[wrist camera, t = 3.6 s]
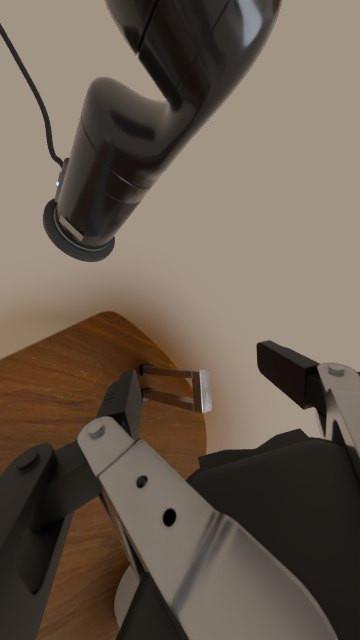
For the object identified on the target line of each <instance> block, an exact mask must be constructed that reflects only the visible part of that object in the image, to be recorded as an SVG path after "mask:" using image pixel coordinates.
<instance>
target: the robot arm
mask: <svg viewBox="0 0 360 640" xmlns="http://www.w3.org/2000/svg"><path fill="white" fill-rule="evenodd" d="M105 3H106V6H107V9H108V11H109V13H110V15H111V17H112V19H113V21H114V22H115V24H116V25H117V27H118V29H119V31H120V32H121V34H122V36H123V37H124V39H125V41H126V42H127V44H128V45H129V47H130V48H131V50H132V51H133V52H134V54H135V55H136V56H137V55H138V60H139V61H140V63H141V64H142V66H143V67H144V69H145V70H146V71H147V73H148V74H149V76H150V77H151V78H152V80H153V81H154V82H155V84H156V85H157V87H158V88H159V90H160V91H161V93H162V94H163V96H164V97H165V98H166V99H167V101H164V102H163V101H155V100H151V99H149V98H146V97H144V96H142V95H140V94H138V93H137V92H135V91H134V90H132V89H130V88H129V87H127V86H126V85H124V84H122V83H120V82H119V81H117V80H115V79H112V78H108V77H98V78H96V79H95V80H93V81H92V83H91V84H90V86H89V88H88V90H87V93H86V97H85V100H84V104H83V108H82V112H81V116H80V119H79V123H78V127H77V131H76V135H75V139H74V143H73V147H72V150H71V154H70V158H65V160H64V162H63V161H62V160H61V159H60V158H59V157H57V156H56V155H55V151H54V148H53V142H52V134H51V126H50V121H49V117H48V114H47V111H46V108H45V106H44V103H43V101H42V99H41V97H40V95H39V93H38V91H37V89H36V87H35V85H34V83H33V81H32V79H31V78H30V76H29V74H28V72H27V70H26V69H25V67H24V65H23V63H22V61H21V59H20V58H19V56H18V54H17V52H16V50H15V49H14V47H13V45H12V43H11V41H10V40H9V38H8V36H7V34H6V33H5V31H4V29H3V27H2V25H1V24H0V34H1V36H2V37H3V39H4V41H5V42H6V44H7V46H8V48H9V49H10V51H11V53H12V55H13V57H14V59H15V61H16V62H17V64H18V66H19V68H20V70H21V71H22V73H23V75H24V77H25V78H26V80H27V82H28V84H29V86H30V88H31V90H32V91H33V93H34V95H35V98H36V99H37V102H38V104H39V106H40V109H41V111H42V114H43V118H44V121H45V128H46V137H47V143H48V149H49V152H50V155H51V157H52V158H53V160H55V162H57V163H58V164H59V165H60V166H61V168H62V171H61V172H60V175H59V179H58V182H57V183H56V184H57V192H56V196H55V200H54V206H55V211H54V215H53V220H54V225H55V227H56V229H57V231H58V233H59V234H60V235H61V237H62V238H63V239H64V240H65V241H66V242H68V243H69V244H70V245H72V246H73V247H75V248H77V249H79V250H82V251H85V252H99V251H102V250H103V249H105V248H106V246H107V245H108V244H109V242H110V240H111V239H112V238H113V237H114V235H115V234H116V233H117V231H118V230H119V229H120V228H121V226H122V225H123V224H124V222H125V221H126V220H127V218H128V217H129V216H130V215H131V213H132V212H133V211H134V209H135V208H136V207H137V205H138V204H139V203H140V202H141V200H142V199H143V198H144V196H145V195H146V194H147V193H148V191H149V190H150V189H151V187H152V186H153V185H154V184H155V182H156V181H157V180H158V178H159V177H160V176H161V174H163V173H164V172H165V171H166V170H167V168H168V167H169V166H170V165H171V163H172V162H173V161H174V160H175V159H176V157H177V156H178V155H179V154H180V152H181V151H182V150H183V149H184V148H185V147H186V145H187V144H188V143H189V142H190V141H191V140H192V138H193V137H194V136H195V135H196V134H197V133H198V132H199V130H200V129H201V128H202V127H203V126H204V125H205V124H206V122H208V121H209V119H210V118H211V117H212V116H213V115H214V114H215V113H216V111H217V110H218V109H219V108H220V107H221V106H222V105H223V103H224V102H225V101H226V100H227V99H228V97H229V96H230V95H231V94H232V93H233V91H234V90H235V89H236V88H237V87H238V85H239V84H240V83H241V81H242V80H243V78H244V77H245V76H246V74H247V73H248V72H249V70H250V69H251V68H252V66H253V64H254V63H255V61H256V60H257V58H258V56H259V54H260V53H261V51H262V50H263V48H264V46H265V45H266V43H267V41H268V39H269V37H270V34H271V32H272V30H273V28H274V26H275V23H276V21H277V18H278V14H279V12H280V8H281V3H282V0H105ZM257 364H258V368H259V371H260V372H261V373H262V374H263V375H264V376H265V377H266V378H267V379H268V380H270V381H271V382H272V383H273V384H274V385H275V386H277V387H278V388H279V389H280V390H281V391H282V392H284V393H285V394H286V395H287V396H288V397H289V398H291V399H292V400H293V401H294V402H295V403H296V404H298V405H299V406H300V407H301V408H302V409H307V408H311V407H315V408H316V418H317V422H318V426H319V430H320V434H321V438H322V439H321V438H313V437H308V436H307V435H306V434H305V433H304V432H303V431H302V430H301V429H296V430H292V431H289V432H285V433H282V434H279V435H276V436H274V437H273V438H271V439H270V440H268V441H267V442H265V443H264V444H262V445H261V446H259V447H258V448H256V449H242V450H223V451H219V452H215V453H212V454H208V455H205V456H201V457H198V458H199V464H200V468H199V469H198V470H196V471H195V472H194V473H193V474H192V475H190V476H189V478H188V479H187V480H186V481H185V480H184V479H183V478H182V477H181V476H180V475H179V474H178V473H177V472H176V471H175V470H174V469H173V468H172V467H171V466H170V465H169V464H168V463H167V462H166V461H164V460H163V459H162V458H161V457H160V456H159V455H158V454H157V453H156V452H155V451H154V450H153V449H152V448H151V447H150V446H149V445H148V444H147V443H146V442H145V441H144V440H143V439H141V438H139V427H140V417H141V406H142V396H141V390H140V386H139V382H138V378H137V374H136V371H135V369H134V370H129V371H125V372H122V374H121V377H120V380H119V381H117V382H114V383H113V384H112V385H111V386H110V387H109V388H108V390H107V393H106V396H105V397H104V401H103V402H102V405H101V407H100V409H99V412H98V414H97V416H96V419H95V420H93V421H91V422H90V423H88V424H87V425H86V426H85V427H84V428H83V429H82V430H81V431H80V433H79V435H78V438H77V440H76V441H74V442H72V443H70V444H68V445H66V446H64V447H62V448H60V449H58V450H56V451H54V450H53V447H52V445H50V444H40V445H37V446H35V447H33V448H31V449H29V450H27V451H26V452H24V453H23V454H21V455H20V456H19V457H17V458H16V459H15V460H14V461H13V462H12V463H11V464H10V465H9V466H8V468H7V469H6V470H5V472H4V473H3V474H2V476H1V477H0V640H36V637H37V634H38V630H39V627H40V624H41V620H42V617H43V614H44V610H45V607H46V604H47V600H48V597H49V594H50V590H51V587H52V584H53V580H54V577H55V573H56V570H57V567H58V563H59V560H60V557H61V553H62V550H63V547H64V543H65V540H66V537H67V533H68V530H69V527H70V523H71V520H72V516H73V513H74V511H75V510H77V509H78V508H80V507H81V506H83V505H84V504H86V503H88V502H89V501H91V500H92V499H94V498H95V497H97V496H98V497H99V499H100V501H101V503H102V505H103V507H104V509H105V511H106V513H107V515H108V518H109V520H110V522H111V524H112V526H113V528H114V530H115V532H116V534H117V536H118V538H119V540H120V543H121V545H122V547H123V550H124V552H125V554H126V556H127V559H128V561H129V563H130V565H131V568H132V570H133V572H134V574H135V576H136V578H137V580H138V582H139V584H138V587H137V589H136V592H135V594H134V597H133V599H132V601H131V604H130V606H129V609H128V611H127V613H126V616H125V618H124V621H123V623H122V626H121V628H120V630H119V633H118V635H117V638H116V640H360V372H356V371H355V370H354V369H352V368H350V367H348V366H345V365H342V364H337V363H322V364H319V363H317V362H315V361H313V360H311V359H309V358H307V357H305V356H303V355H301V354H299V353H297V352H295V351H293V350H291V349H289V348H286V347H282V346H280V345H278V344H276V343H273V342H272V341H270V340H269V341H264V342H260V343H258V344H257ZM138 438H139V439H138Z"/></svg>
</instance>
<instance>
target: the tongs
mask: <svg viewBox="0 0 360 640" xmlns="http://www.w3.org/2000/svg"><path fill="white" fill-rule="evenodd" d="M140 375H141V376H145V375H161V376H172V377H184V378H192V383H193V398H188V397H182V396H177V395H172V394H167V393H162V392H157V391H153V389H151V388H149V389H144V390H141V396H142V402H144V401H148V400H154V401H157V402H161V403H165V404H168V405H172V406H176V407H180V408H183V409H187V410H191V411H195V412H199V413H202V414H203V413H205V412H207V411H210V410H212V397H211V383H210V370H192V369H163V368H153V365H140Z"/></svg>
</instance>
